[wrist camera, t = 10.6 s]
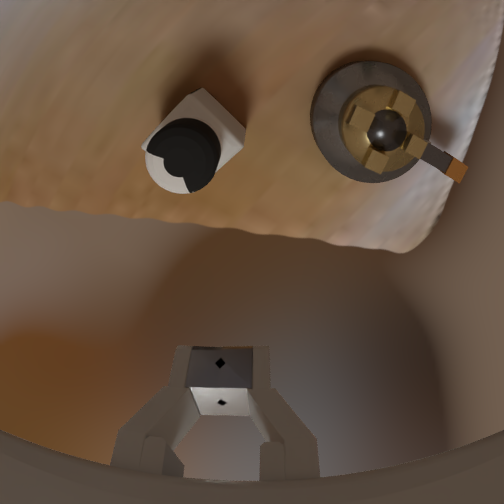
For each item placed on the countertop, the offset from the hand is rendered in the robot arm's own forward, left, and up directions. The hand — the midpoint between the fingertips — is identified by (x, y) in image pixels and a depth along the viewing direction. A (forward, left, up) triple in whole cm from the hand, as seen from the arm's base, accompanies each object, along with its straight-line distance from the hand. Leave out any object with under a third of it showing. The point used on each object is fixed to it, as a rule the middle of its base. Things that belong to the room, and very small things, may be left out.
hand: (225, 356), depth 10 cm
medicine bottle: (-1, -5, -29) cm, 30 cm away
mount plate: (-2, +14, -29) cm, 32 cm away
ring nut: (-1, +17, -26) cm, 31 cm away
